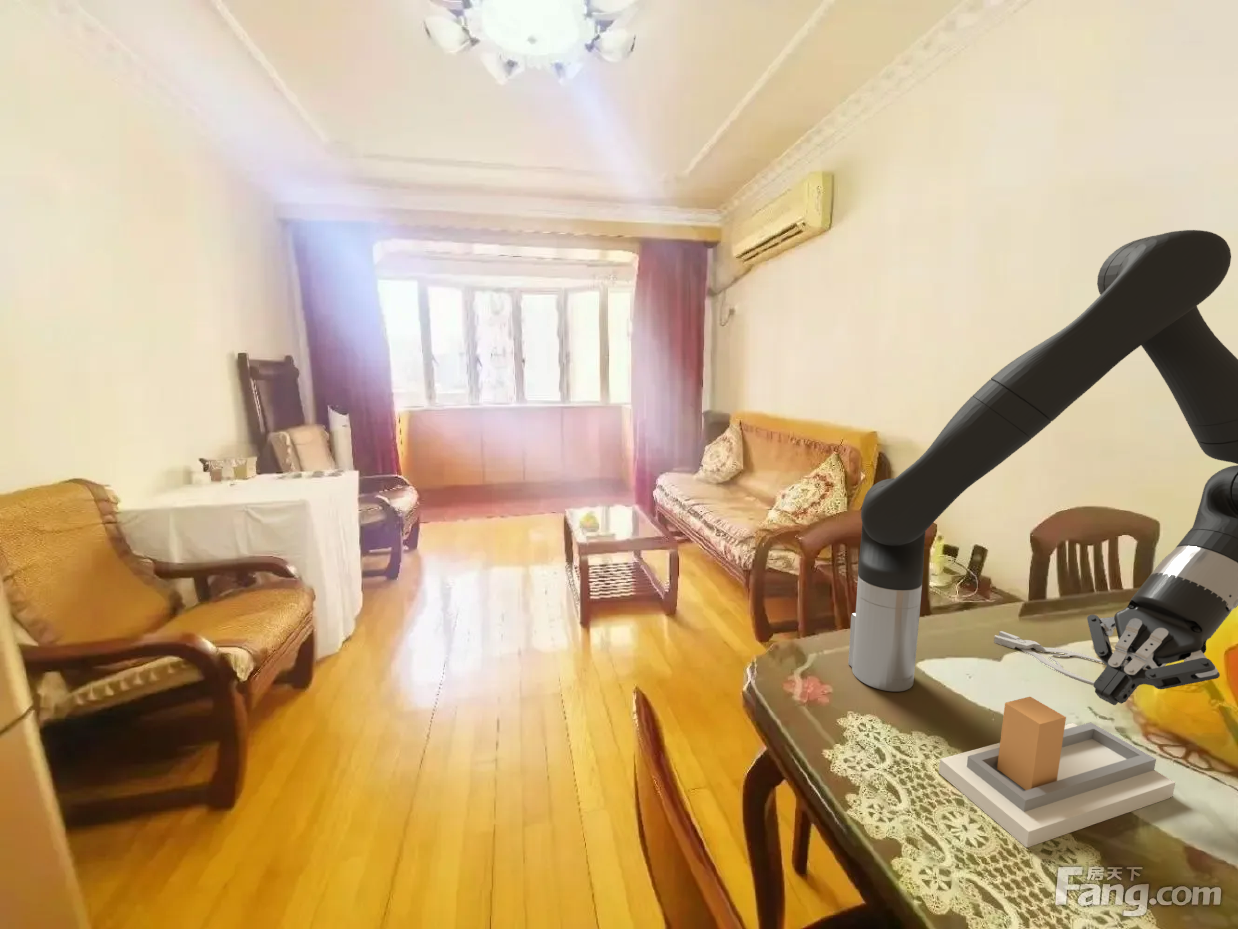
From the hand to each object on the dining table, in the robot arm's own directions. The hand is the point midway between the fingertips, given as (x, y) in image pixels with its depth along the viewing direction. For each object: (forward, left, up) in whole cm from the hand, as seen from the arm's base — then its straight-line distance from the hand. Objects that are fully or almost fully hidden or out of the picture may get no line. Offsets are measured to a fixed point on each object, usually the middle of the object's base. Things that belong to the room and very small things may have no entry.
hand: (1104, 698), depth 63 cm
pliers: (-22, +23, -11) cm, 33 cm away
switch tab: (0, -11, -8) cm, 14 cm away
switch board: (0, -7, -10) cm, 12 cm away
